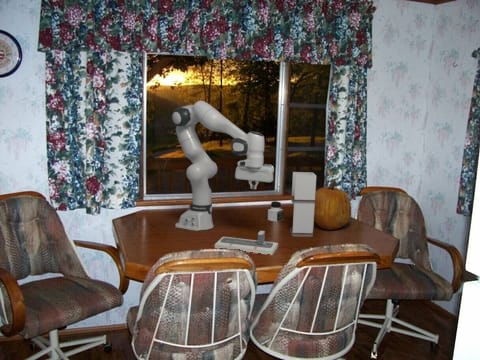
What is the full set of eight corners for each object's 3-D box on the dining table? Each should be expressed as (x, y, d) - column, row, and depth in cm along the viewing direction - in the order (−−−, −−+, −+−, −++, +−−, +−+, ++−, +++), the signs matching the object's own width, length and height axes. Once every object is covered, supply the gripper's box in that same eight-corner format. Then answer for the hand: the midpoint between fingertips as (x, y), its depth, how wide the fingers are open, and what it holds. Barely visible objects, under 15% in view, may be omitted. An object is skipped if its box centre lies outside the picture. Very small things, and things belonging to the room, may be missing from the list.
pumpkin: (322, 219, 291) (325, 174, 286) (355, 226, 277) (359, 179, 272) (301, 227, 271) (304, 178, 266) (335, 235, 257) (339, 184, 252)
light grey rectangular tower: (309, 231, 264) (312, 172, 258) (312, 236, 254) (316, 175, 248) (289, 230, 264) (292, 172, 258) (292, 236, 253) (295, 175, 247)
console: (214, 248, 229) (214, 242, 229) (223, 240, 242) (223, 234, 242) (272, 255, 221) (272, 249, 221) (277, 246, 234) (278, 241, 234)
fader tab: (256, 246, 228) (256, 233, 226) (258, 243, 232) (258, 230, 231) (263, 246, 226) (264, 234, 225) (265, 244, 231) (266, 231, 230)
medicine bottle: (276, 222, 282) (277, 203, 280) (267, 220, 286) (268, 201, 284) (282, 220, 288) (283, 201, 285) (273, 218, 292) (274, 200, 290)
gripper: (275, 164, 235) (273, 189, 238) (238, 160, 241) (237, 185, 244) (273, 165, 230) (271, 192, 232) (234, 162, 235) (233, 187, 238)
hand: (253, 188), depth 238 cm, fingers closed
